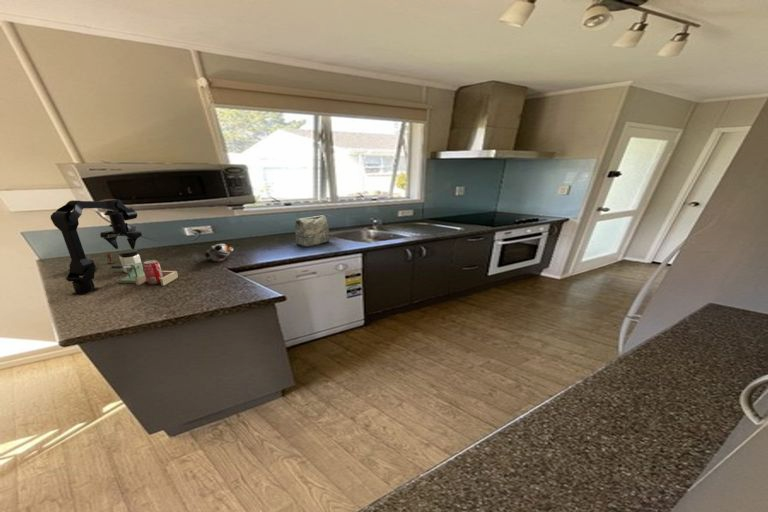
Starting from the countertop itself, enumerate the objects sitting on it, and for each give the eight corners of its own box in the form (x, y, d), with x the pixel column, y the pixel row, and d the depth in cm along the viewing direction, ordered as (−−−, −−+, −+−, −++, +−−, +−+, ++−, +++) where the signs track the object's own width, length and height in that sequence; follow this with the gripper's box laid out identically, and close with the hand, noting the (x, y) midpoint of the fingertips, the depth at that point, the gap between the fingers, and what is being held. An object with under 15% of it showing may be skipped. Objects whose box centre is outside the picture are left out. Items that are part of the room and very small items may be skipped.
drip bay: (163, 285, 150) (162, 278, 149) (136, 285, 150) (134, 278, 149) (178, 277, 161) (176, 271, 160) (152, 277, 161) (150, 270, 160)
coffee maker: (137, 283, 153) (133, 267, 150) (118, 282, 153) (114, 267, 150) (154, 274, 165) (150, 260, 162) (137, 274, 164) (133, 260, 162)
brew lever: (120, 269, 146) (120, 264, 146) (110, 269, 146) (111, 264, 146) (140, 269, 158) (140, 264, 158) (131, 268, 158) (131, 264, 158)
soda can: (161, 278, 159) (156, 258, 155) (165, 282, 155) (160, 261, 151) (145, 282, 154) (140, 261, 150) (149, 286, 149) (143, 264, 146)
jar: (122, 274, 164) (116, 254, 161) (124, 269, 171) (119, 250, 167) (142, 271, 169) (137, 251, 165) (143, 267, 176) (139, 248, 172)
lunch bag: (321, 238, 248) (320, 213, 241) (332, 242, 236) (331, 216, 229) (293, 243, 231) (290, 216, 225) (304, 248, 219) (301, 220, 212)
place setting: (69, 269, 170) (66, 260, 168) (114, 261, 183) (111, 253, 182) (68, 277, 158) (64, 267, 156) (116, 269, 172) (113, 259, 170)
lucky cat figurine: (227, 254, 200) (232, 238, 195) (230, 265, 193) (236, 249, 188) (202, 252, 190) (207, 236, 184) (205, 264, 183) (211, 247, 177)
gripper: (146, 219, 166) (152, 245, 171) (113, 219, 166) (120, 245, 171) (130, 223, 156) (137, 250, 160) (95, 222, 155) (103, 250, 160)
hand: (125, 248), depth 163 cm, fingers open, 9 cm apart
